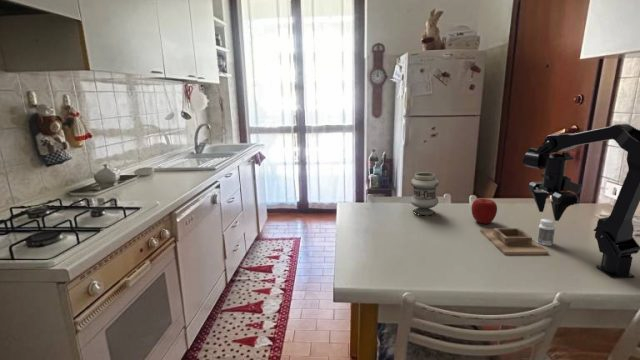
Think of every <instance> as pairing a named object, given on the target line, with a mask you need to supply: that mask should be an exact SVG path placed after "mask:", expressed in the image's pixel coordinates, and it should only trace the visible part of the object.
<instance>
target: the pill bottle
mask: <svg viewBox="0 0 640 360" xmlns="http://www.w3.org/2000/svg"><path fill="white" fill-rule="evenodd" d="M555 230H556V227H555V220H553V219H549V218H542V219H540V224H539V225H538V230H537V237H536V241H537V242H536V243H538V244H539V245H541V246H552V245H553V244H554V238H555Z"/></svg>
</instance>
